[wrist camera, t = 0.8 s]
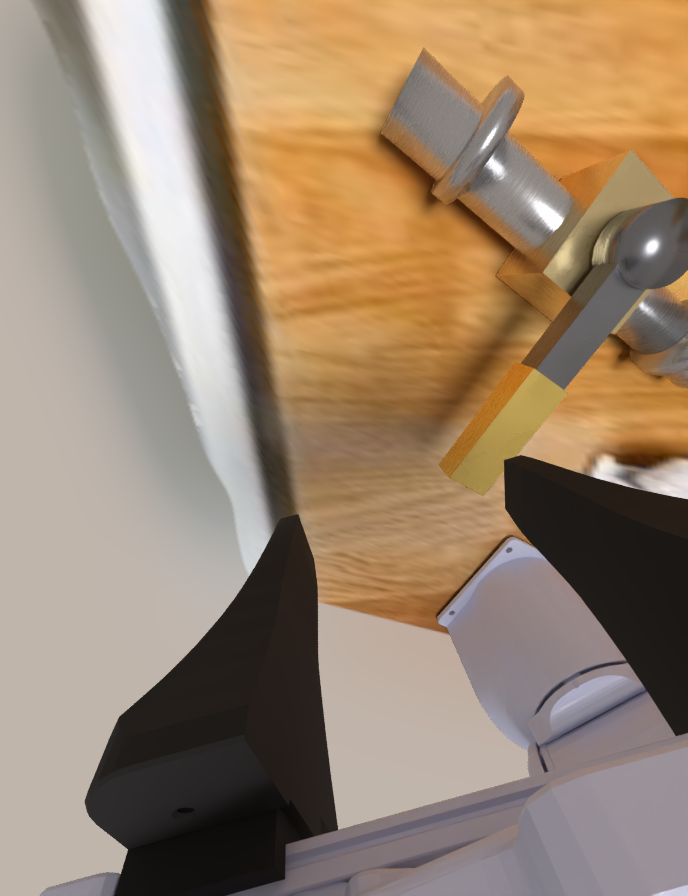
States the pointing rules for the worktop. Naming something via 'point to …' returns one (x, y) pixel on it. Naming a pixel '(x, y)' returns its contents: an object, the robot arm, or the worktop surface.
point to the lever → (573, 337)
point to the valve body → (535, 203)
